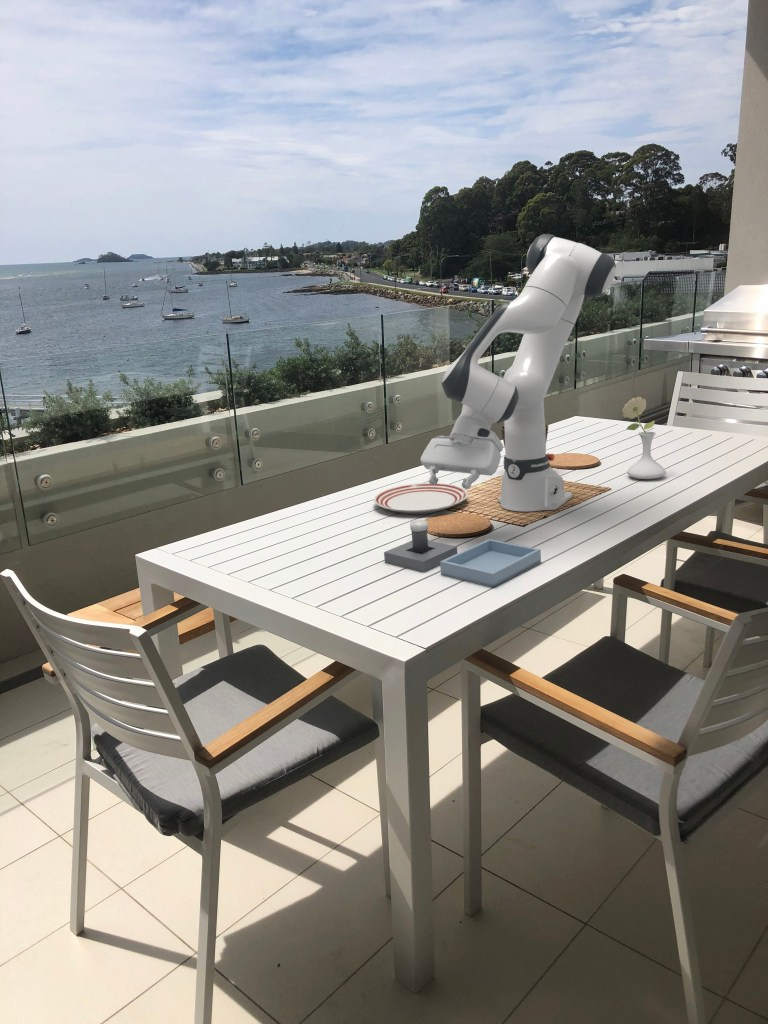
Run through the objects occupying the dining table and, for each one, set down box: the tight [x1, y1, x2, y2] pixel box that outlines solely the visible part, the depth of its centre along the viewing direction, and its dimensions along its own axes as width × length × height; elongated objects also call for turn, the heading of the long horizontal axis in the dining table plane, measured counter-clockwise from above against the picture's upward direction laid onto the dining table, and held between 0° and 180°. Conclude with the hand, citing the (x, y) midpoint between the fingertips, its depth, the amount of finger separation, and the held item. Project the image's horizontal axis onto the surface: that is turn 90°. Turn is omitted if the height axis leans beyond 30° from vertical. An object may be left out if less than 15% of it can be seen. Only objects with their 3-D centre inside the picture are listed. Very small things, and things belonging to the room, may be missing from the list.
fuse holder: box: [383, 539, 458, 573], centre depth 176 cm, size 12×12×2 cm
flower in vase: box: [621, 396, 667, 480], centre depth 229 cm, size 13×11×25 cm
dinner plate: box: [373, 482, 469, 515], centre depth 221 cm, size 27×27×3 cm
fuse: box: [409, 519, 429, 554], centre depth 175 cm, size 4×4×9 cm
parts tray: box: [439, 538, 542, 589], centre depth 167 cm, size 18×14×3 cm
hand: (448, 485), depth 181 cm, fingers open, 8 cm apart
